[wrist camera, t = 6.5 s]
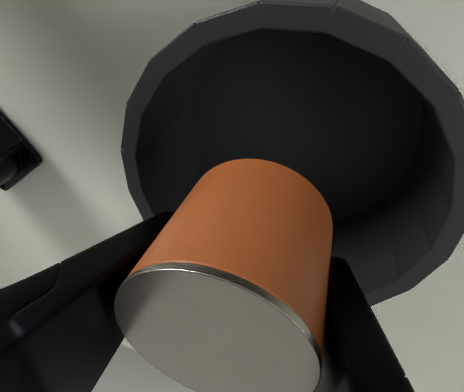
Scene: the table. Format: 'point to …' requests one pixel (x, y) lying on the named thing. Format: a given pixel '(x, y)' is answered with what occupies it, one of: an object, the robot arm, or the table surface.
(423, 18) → the table surface
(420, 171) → the dark grey round container
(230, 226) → the cylinder
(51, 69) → the table surface
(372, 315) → the robot arm
